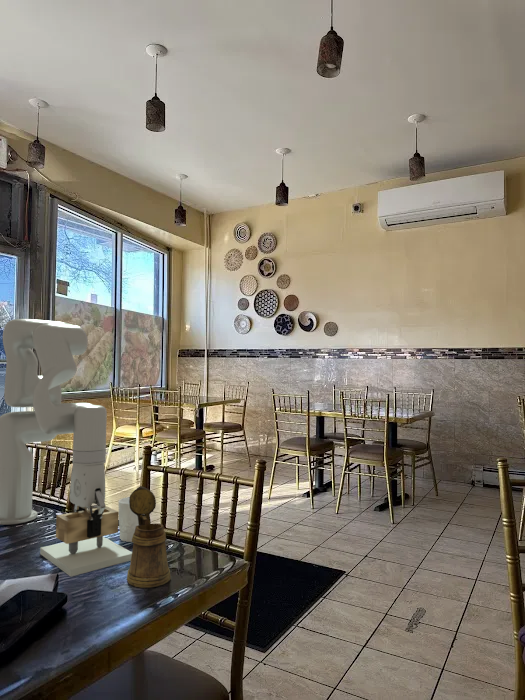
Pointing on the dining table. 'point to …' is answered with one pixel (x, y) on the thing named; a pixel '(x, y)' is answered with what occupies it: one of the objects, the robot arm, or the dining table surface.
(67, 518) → the tan hollow block
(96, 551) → the post board
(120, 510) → the white cup
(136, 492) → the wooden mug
